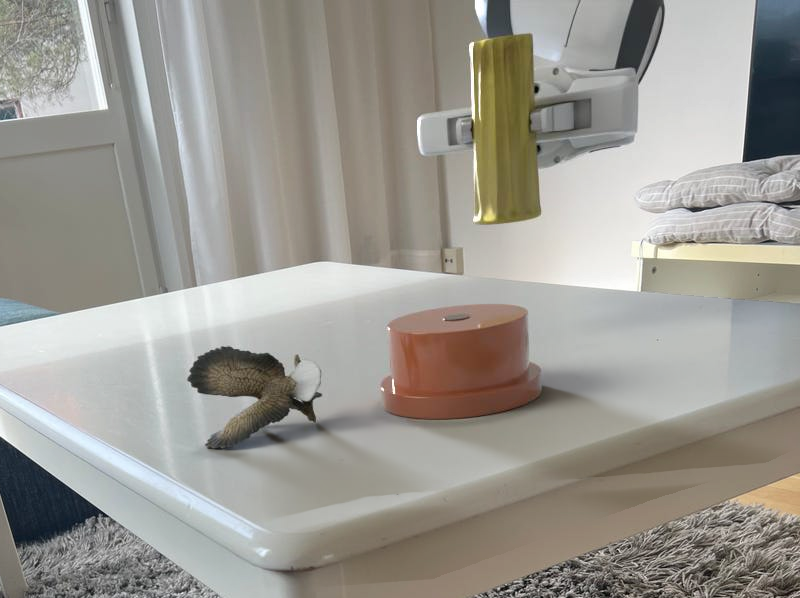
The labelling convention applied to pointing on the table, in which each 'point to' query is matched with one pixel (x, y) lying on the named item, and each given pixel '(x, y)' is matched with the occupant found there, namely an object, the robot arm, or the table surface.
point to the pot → (460, 362)
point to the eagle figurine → (255, 389)
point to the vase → (504, 130)
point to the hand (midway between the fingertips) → (500, 126)
